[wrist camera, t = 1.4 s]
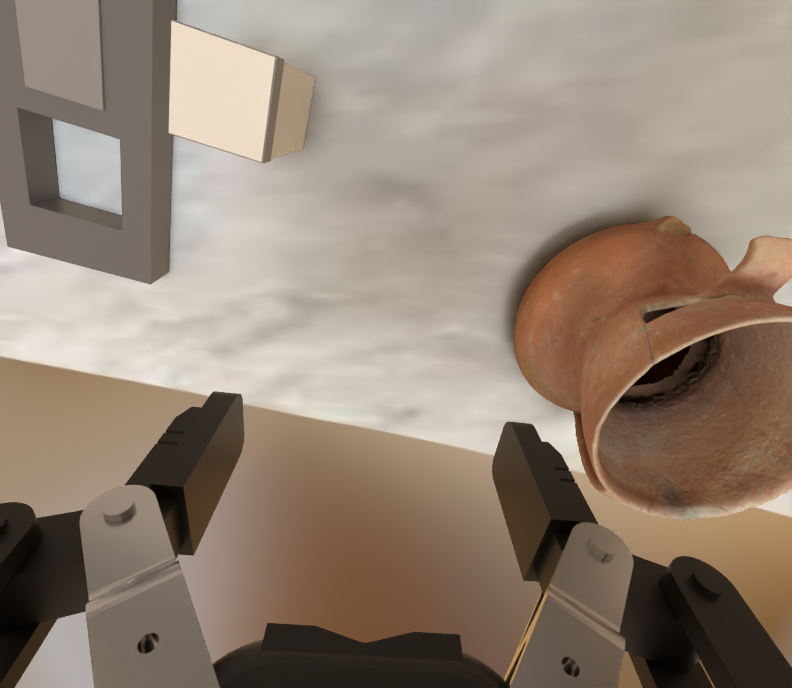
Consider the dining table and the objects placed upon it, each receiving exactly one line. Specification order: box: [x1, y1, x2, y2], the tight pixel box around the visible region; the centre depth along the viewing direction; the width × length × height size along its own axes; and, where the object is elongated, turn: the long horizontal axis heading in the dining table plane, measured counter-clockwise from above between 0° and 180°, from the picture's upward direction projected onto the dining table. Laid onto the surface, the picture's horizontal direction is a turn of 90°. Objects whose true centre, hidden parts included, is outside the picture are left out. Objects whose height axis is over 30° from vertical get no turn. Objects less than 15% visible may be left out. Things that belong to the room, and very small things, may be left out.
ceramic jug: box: [514, 216, 792, 520], centre depth 25 cm, size 18×14×14 cm
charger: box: [169, 19, 315, 163], centre depth 21 cm, size 4×4×9 cm
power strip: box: [0, 0, 177, 284], centre depth 21 cm, size 29×9×3 cm, turn 163°
